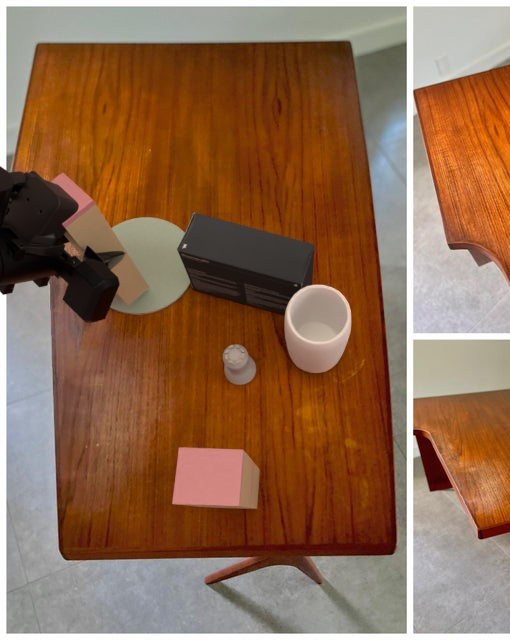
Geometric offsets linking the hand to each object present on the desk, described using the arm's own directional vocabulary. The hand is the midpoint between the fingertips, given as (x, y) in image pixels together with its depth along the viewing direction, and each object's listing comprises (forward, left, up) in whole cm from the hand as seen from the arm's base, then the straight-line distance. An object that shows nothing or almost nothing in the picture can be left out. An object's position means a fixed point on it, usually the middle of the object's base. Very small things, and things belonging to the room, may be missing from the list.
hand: (108, 242), depth 66 cm
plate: (+1, +3, -13) cm, 14 cm away
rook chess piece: (+11, -17, -14) cm, 24 cm away
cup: (+22, -17, -14) cm, 31 cm away
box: (+16, -5, -14) cm, 22 cm away
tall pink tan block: (+6, -32, -13) cm, 35 cm away
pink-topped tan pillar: (-1, -1, -11) cm, 11 cm away
